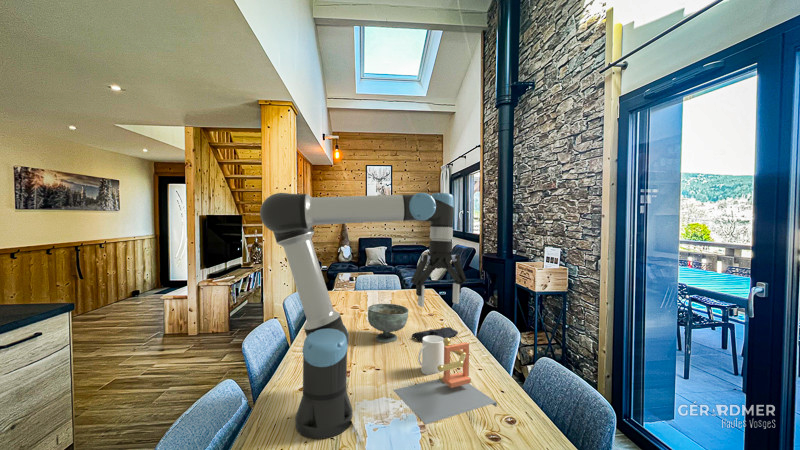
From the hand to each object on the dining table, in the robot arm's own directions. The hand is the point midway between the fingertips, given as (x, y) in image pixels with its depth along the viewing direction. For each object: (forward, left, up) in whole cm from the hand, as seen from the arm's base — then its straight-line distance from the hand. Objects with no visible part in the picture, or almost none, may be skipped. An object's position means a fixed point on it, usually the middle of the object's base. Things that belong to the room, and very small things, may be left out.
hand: (438, 304), depth 106 cm
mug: (+4, +12, -28) cm, 31 cm away
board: (-2, -6, -28) cm, 29 cm away
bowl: (+5, +51, -28) cm, 58 cm away
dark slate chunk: (+28, +44, -29) cm, 59 cm away
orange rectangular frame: (+5, -4, -25) cm, 26 cm away
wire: (-1, -5, -27) cm, 27 cm away
